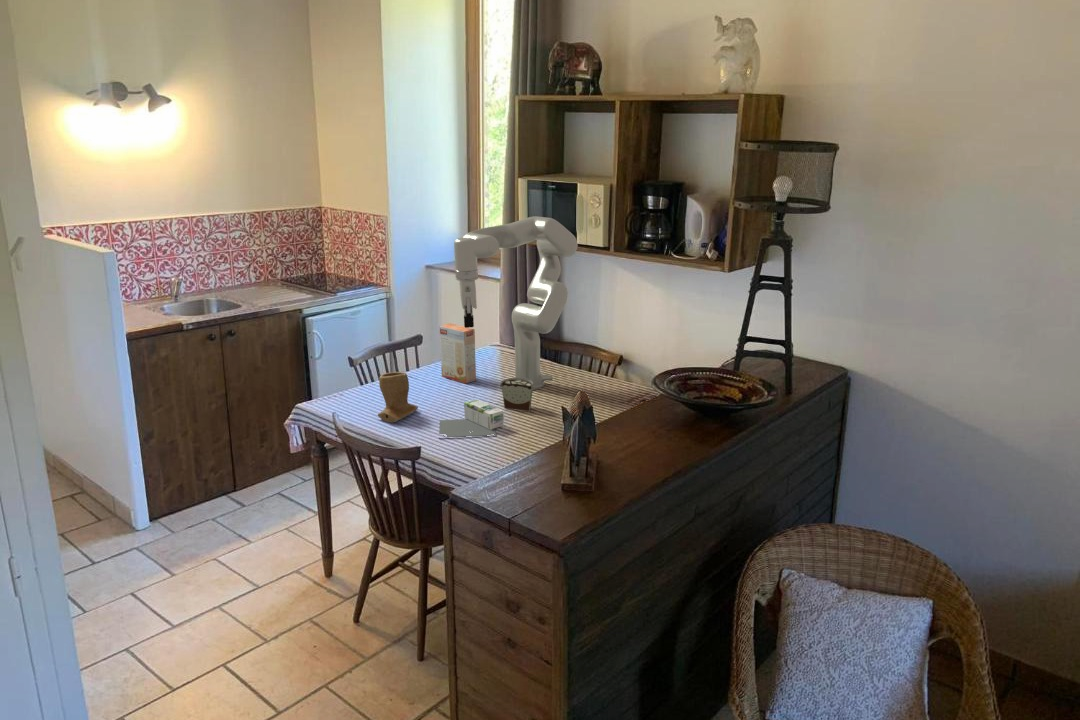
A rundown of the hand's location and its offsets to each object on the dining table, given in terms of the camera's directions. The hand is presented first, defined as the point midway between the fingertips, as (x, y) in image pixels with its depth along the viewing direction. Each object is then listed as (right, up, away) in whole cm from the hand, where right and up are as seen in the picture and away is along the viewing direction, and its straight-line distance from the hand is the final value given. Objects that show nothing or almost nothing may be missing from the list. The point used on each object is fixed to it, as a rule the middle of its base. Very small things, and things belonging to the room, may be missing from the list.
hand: (469, 326), depth 273 cm
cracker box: (-7, -19, +36) cm, 41 cm away
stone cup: (-25, -31, -1) cm, 40 cm away
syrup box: (+1, -28, -4) cm, 28 cm away
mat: (+1, -34, -13) cm, 37 cm away
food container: (+17, -28, +6) cm, 34 cm away
